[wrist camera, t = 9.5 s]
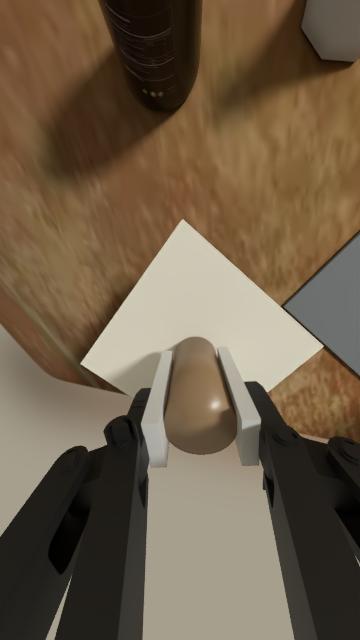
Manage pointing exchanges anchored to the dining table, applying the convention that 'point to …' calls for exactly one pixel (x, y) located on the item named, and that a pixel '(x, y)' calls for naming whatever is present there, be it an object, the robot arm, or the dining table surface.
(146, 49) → the supplement bottle
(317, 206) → the dining table surface
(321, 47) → the flask
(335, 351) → the mat
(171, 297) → the board
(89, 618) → the robot arm
